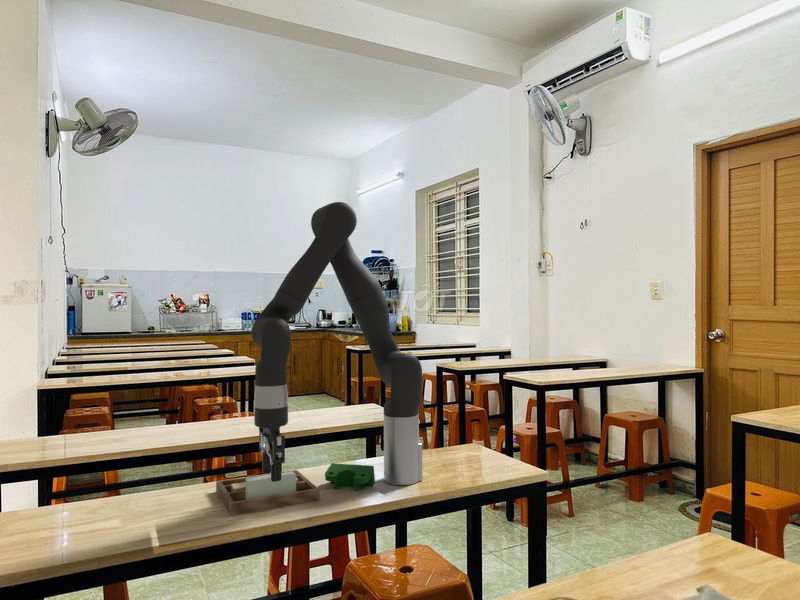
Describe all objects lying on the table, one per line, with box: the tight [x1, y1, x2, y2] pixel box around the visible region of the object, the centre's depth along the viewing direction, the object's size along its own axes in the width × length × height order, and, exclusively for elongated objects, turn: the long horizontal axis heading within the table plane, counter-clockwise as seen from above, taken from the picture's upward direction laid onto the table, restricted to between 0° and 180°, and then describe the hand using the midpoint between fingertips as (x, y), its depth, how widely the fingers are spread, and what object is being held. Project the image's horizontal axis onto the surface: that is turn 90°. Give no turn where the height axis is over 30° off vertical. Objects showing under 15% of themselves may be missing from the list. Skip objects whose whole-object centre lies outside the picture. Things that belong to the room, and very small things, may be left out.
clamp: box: [324, 462, 376, 492], centre depth 138 cm, size 12×6×9 cm, turn 71°
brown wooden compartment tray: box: [215, 469, 320, 517], centre depth 132 cm, size 20×18×4 cm
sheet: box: [245, 470, 296, 500], centre depth 127 cm, size 6×2×11 cm
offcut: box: [231, 482, 246, 492], centre depth 131 cm, size 6×4×3 cm, turn 117°
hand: (271, 476), depth 127 cm, fingers open, 7 cm apart
